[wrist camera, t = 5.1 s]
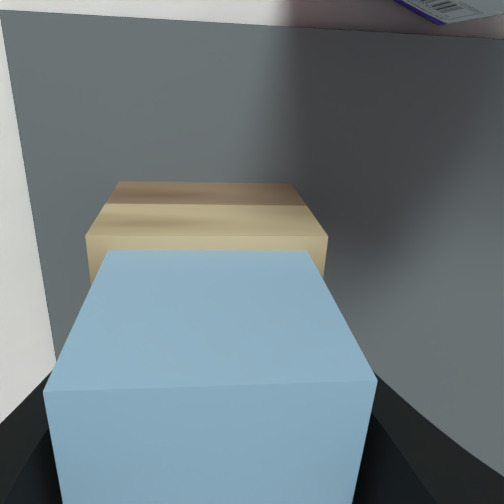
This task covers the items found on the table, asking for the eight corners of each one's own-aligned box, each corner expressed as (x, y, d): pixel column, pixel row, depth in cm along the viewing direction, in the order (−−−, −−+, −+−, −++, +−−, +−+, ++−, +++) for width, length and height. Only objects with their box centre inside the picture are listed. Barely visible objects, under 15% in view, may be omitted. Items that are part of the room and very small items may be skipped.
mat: (485, 509, 25) (488, 513, 25) (87, 539, 23) (86, 545, 22) (662, 49, 16) (670, 49, 15) (2, 10, 13) (-2, 9, 13)
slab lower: (279, 325, 18) (290, 363, 16) (130, 328, 18) (120, 369, 15) (291, 183, 16) (306, 205, 14) (119, 180, 15) (105, 203, 13)
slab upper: (290, 363, 16) (305, 415, 14) (120, 369, 15) (107, 424, 13) (306, 205, 14) (328, 236, 11) (105, 203, 13) (85, 235, 11)
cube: (290, 399, 14) (336, 576, 9) (121, 406, 13) (80, 598, 8) (307, 250, 11) (377, 380, 7) (108, 249, 11) (42, 391, 6)
